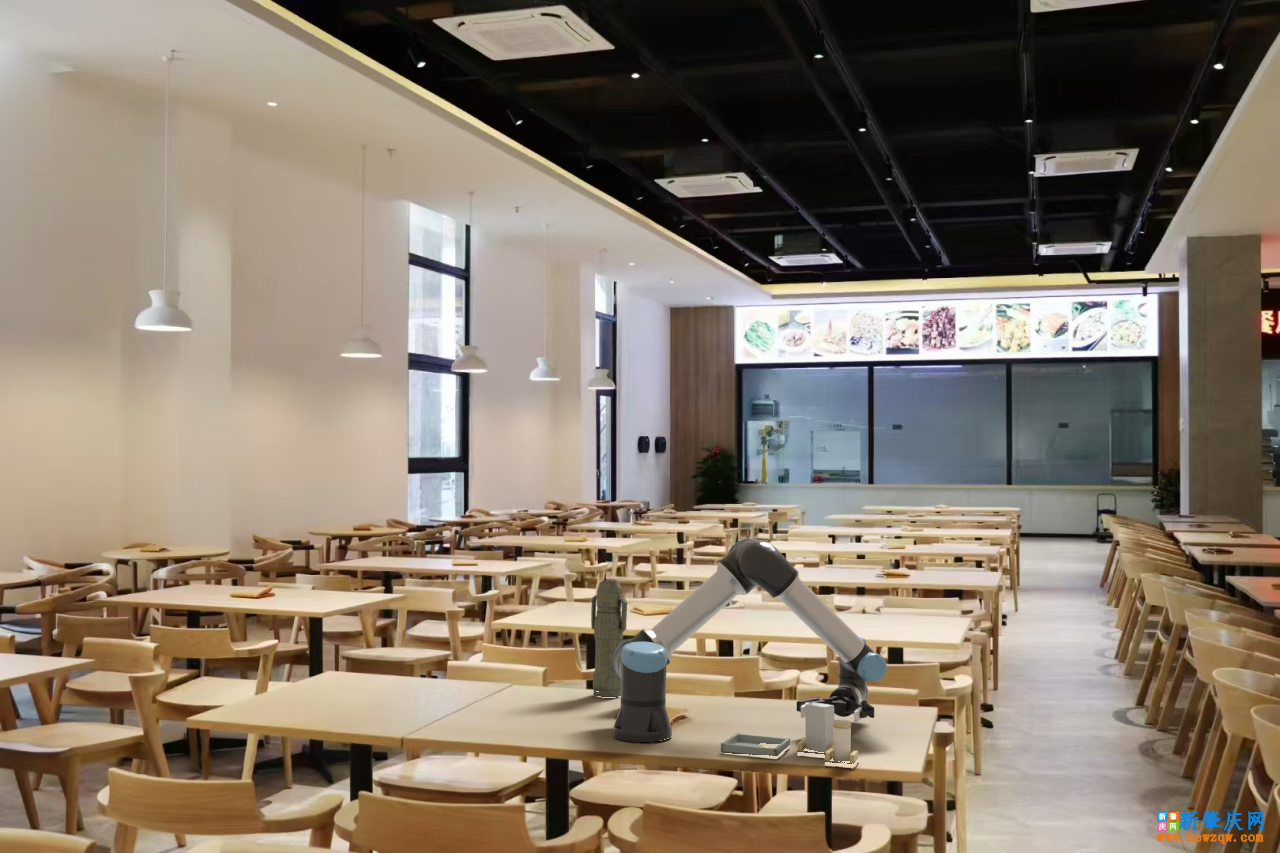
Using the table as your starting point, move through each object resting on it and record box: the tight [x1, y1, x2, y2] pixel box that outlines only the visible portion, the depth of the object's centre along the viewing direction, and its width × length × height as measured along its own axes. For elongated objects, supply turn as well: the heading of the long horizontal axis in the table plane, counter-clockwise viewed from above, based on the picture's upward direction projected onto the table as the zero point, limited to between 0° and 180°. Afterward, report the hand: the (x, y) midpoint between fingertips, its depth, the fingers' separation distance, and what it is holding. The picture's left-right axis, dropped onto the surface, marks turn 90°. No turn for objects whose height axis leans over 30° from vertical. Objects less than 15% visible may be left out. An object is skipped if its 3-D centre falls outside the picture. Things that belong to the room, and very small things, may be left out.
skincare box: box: [804, 702, 835, 753], centre depth 282 cm, size 6×4×12 cm
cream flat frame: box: [796, 736, 859, 764], centre depth 277 cm, size 15×16×3 cm
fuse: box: [833, 719, 852, 762], centre depth 271 cm, size 4×4×10 cm
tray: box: [720, 733, 791, 756], centre depth 283 cm, size 14×13×2 cm
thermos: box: [590, 580, 628, 697], centre depth 353 cm, size 9×12×35 cm
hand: (828, 714), depth 291 cm, fingers open, 13 cm apart
